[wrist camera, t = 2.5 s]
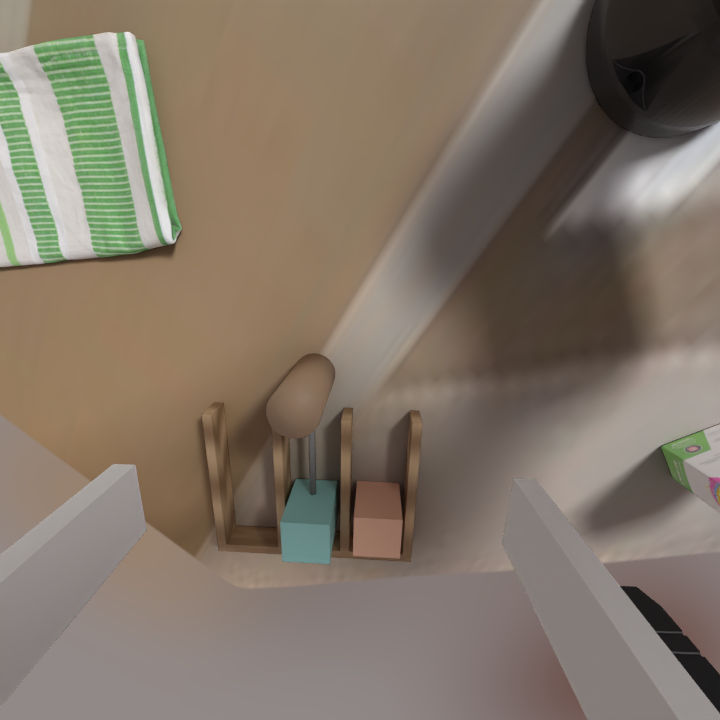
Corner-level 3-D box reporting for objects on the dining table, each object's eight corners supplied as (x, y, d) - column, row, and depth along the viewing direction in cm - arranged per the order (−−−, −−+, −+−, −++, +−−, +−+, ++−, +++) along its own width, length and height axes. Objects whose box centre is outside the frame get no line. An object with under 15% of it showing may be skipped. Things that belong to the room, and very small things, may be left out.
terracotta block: (357, 480, 41) (353, 517, 35) (398, 482, 40) (402, 520, 35) (356, 515, 42) (353, 555, 36) (396, 517, 42) (399, 558, 36)
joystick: (291, 352, 36) (260, 387, 27) (338, 354, 36) (323, 389, 26) (297, 513, 42) (273, 588, 33) (337, 515, 42) (325, 591, 32)
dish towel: (-98, 67, 31) (-142, 49, 28) (146, 35, 29) (124, 13, 27) (-21, 269, 36) (-53, 270, 33) (191, 251, 34) (176, 251, 32)
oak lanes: (214, 402, 38) (201, 414, 35) (418, 410, 37) (422, 423, 35) (229, 531, 44) (218, 550, 41) (408, 541, 43) (410, 561, 40)
